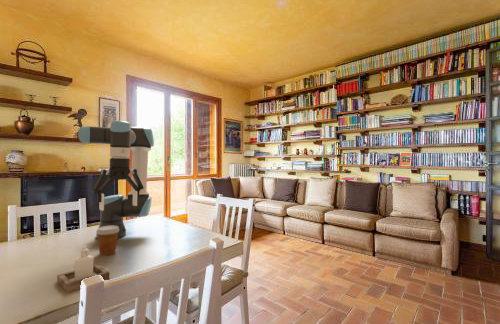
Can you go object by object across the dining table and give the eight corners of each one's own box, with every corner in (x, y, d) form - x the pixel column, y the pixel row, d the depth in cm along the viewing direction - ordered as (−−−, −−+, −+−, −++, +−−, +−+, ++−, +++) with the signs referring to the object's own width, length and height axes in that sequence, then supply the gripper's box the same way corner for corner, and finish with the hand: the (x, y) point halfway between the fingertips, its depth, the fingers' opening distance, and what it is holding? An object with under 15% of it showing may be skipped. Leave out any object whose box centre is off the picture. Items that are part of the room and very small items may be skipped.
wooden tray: (57, 282, 89) (57, 275, 89) (97, 270, 99) (97, 264, 99) (67, 292, 82) (67, 285, 82) (109, 278, 92) (109, 272, 92)
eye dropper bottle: (79, 276, 93) (80, 244, 93) (95, 276, 93) (96, 244, 93) (71, 281, 89) (72, 248, 89) (88, 281, 89) (89, 248, 89)
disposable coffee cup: (94, 258, 111) (95, 231, 111) (96, 251, 120) (97, 226, 120) (118, 255, 116) (119, 229, 116) (119, 248, 124) (119, 224, 124)
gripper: (89, 157, 94) (88, 213, 94) (152, 158, 113) (151, 205, 114) (82, 157, 99) (82, 210, 99) (143, 157, 118) (142, 202, 118)
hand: (118, 207), depth 106 cm, fingers open, 13 cm apart
